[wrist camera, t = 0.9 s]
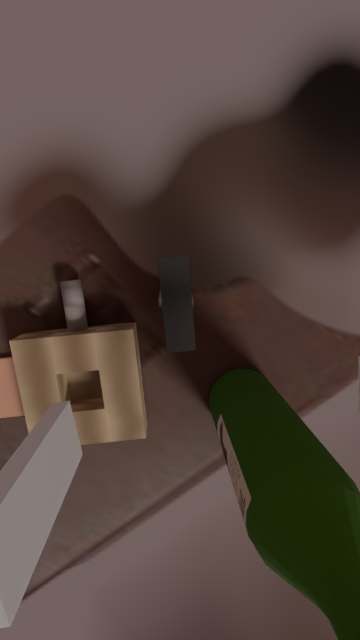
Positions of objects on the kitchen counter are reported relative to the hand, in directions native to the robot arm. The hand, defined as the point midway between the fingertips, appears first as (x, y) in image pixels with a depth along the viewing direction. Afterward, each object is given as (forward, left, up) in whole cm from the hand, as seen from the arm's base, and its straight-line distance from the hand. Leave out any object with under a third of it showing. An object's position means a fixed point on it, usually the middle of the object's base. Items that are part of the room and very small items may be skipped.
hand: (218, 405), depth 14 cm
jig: (-13, -5, -25) cm, 29 cm away
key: (-1, +3, -25) cm, 26 cm away
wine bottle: (+7, -13, -26) cm, 30 cm away
